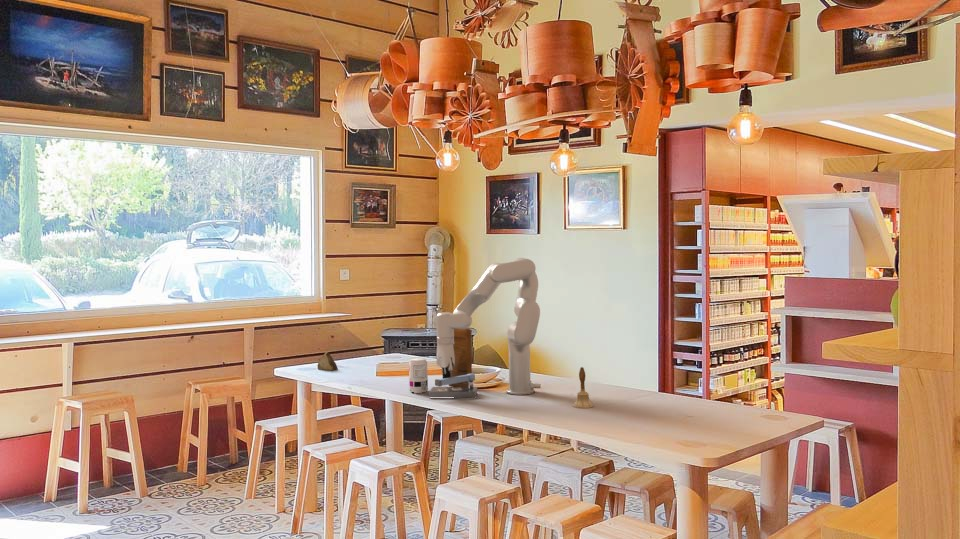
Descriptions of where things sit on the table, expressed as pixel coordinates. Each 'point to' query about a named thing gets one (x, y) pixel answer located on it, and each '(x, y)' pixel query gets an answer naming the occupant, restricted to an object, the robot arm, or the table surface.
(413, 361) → the supplement can
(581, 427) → the table surface
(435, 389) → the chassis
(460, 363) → the pancake mix bag
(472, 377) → the bar
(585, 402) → the hand bell
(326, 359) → the rock
